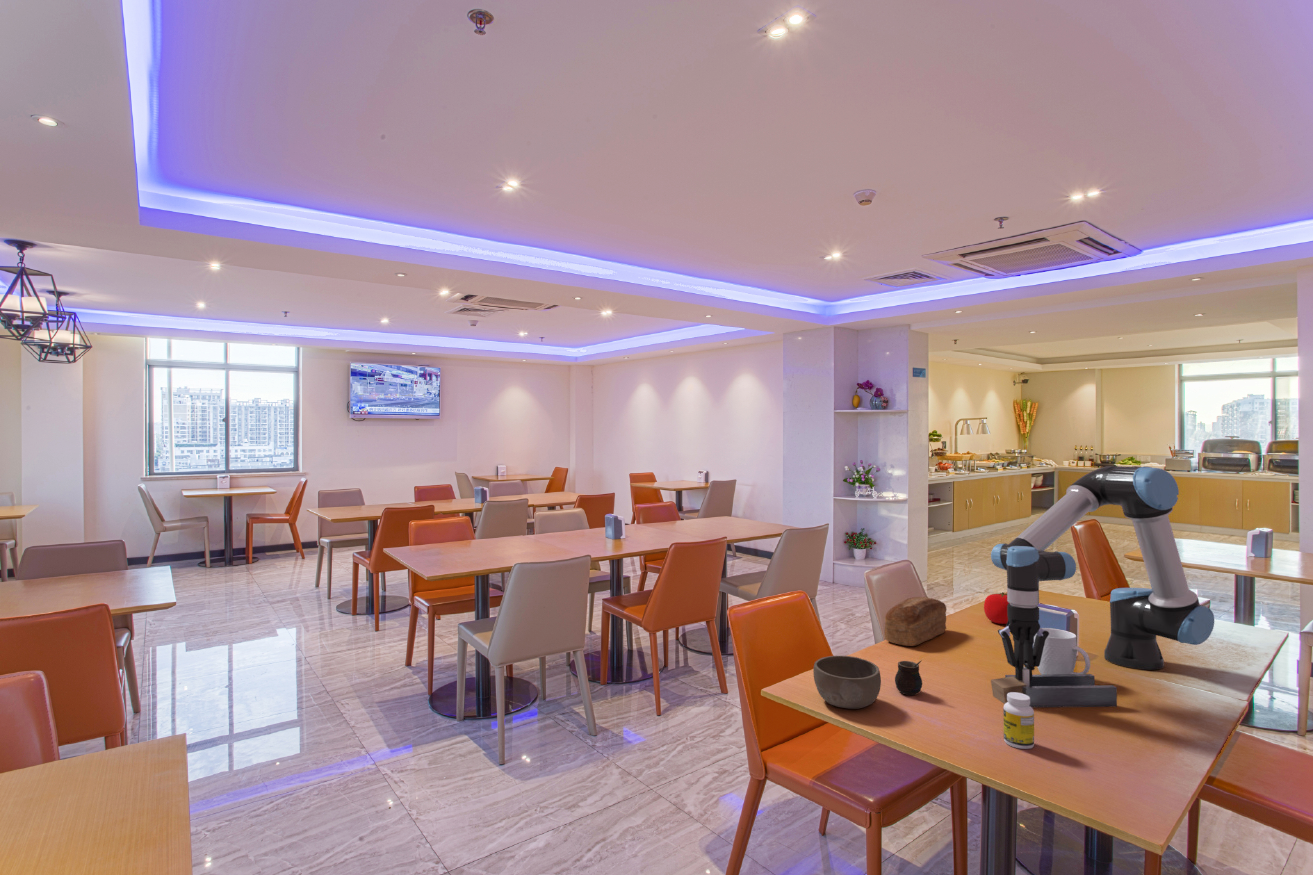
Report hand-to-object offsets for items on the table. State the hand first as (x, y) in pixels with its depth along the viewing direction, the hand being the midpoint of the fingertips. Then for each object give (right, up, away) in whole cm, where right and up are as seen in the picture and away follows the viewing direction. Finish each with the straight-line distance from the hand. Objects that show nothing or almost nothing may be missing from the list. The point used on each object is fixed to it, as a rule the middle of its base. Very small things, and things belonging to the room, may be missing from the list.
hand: (1023, 692), depth 176 cm
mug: (+19, -2, +16) cm, 25 cm away
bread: (-6, -3, +58) cm, 58 cm away
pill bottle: (-15, -2, -25) cm, 30 cm away
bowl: (-48, -3, -1) cm, 48 cm away
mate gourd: (-29, -3, +6) cm, 29 cm away
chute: (+10, -2, 0) cm, 10 cm away
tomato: (+34, -3, +75) cm, 82 cm away
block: (-4, -2, 0) cm, 4 cm away
